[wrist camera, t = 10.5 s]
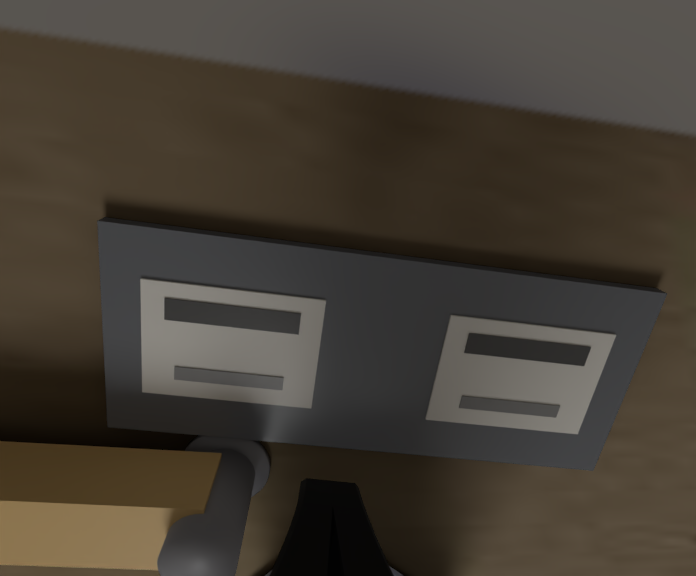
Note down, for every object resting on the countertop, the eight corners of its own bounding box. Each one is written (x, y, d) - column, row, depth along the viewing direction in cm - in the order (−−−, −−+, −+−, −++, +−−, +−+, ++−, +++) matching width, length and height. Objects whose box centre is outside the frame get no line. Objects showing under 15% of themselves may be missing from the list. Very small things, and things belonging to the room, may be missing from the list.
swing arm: (256, 446, 20) (237, 534, 16) (254, 502, 21) (235, 598, 17) (-79, 428, 19) (-194, 516, 15) (-63, 487, 20) (-165, 585, 16)
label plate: (657, 288, 19) (670, 295, 18) (560, 523, 23) (568, 536, 23) (105, 217, 17) (95, 221, 16) (116, 488, 21) (109, 501, 21)
